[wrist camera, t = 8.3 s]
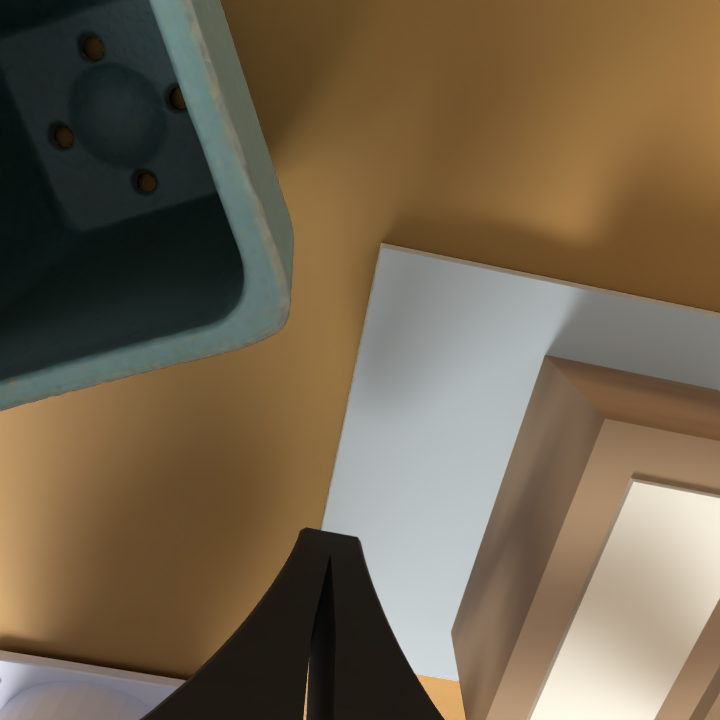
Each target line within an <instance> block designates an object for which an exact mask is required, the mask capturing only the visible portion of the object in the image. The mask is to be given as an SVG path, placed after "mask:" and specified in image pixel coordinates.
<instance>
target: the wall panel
mask: <svg viewBox="0 0 720 720" xmlns="http://www.w3.org/2000/svg"><path fill="white" fill-rule="evenodd" d="M545 355H549V356H554V357H559V358H564V359H569V360H574V361H578V362H583V363H588V364H593V365H598V366H603V367H608V368H613V369H618V370H623V371H627V372H632V373H637V374H642V375H647V376H652V377H657V378H662V379H667V380H672V381H677V382H681V383H686V384H691V385H696V386H701V387H706V388H711V389H716V390H719V391H720V313H719V312H714V311H709V310H704V309H699V308H694V307H690V306H685V305H680V304H675V303H670V302H666V301H661V300H656V299H651V298H646V297H641V296H637V295H632V294H627V293H622V292H617V291H612V290H608V289H603V288H598V287H593V286H588V285H583V284H579V283H574V282H569V281H564V280H559V279H554V278H550V277H545V276H540V275H535V274H530V273H525V272H521V271H516V270H511V269H506V268H501V267H497V266H492V265H487V264H482V263H477V262H472V261H468V260H463V259H458V258H453V257H448V256H443V255H439V254H434V253H429V252H424V251H419V250H414V249H410V248H405V247H400V246H395V245H390V244H385V243H381V244H380V249H379V253H378V258H377V263H376V268H375V272H374V277H373V282H372V286H371V291H370V296H369V301H368V305H367V310H366V315H365V320H364V324H363V329H362V334H361V339H360V343H359V348H358V353H357V357H356V362H355V367H354V372H353V376H352V381H351V386H350V391H349V395H348V400H347V405H346V410H345V414H344V419H343V424H342V428H341V433H340V438H339V443H338V447H337V452H336V457H335V462H334V466H333V471H332V476H331V481H330V485H329V490H328V495H327V500H326V504H325V509H324V514H323V518H322V523H321V528H320V530H322V531H328V532H333V533H339V534H344V535H350V536H356V537H358V538H359V540H360V541H361V545H362V549H363V553H364V557H365V561H366V564H367V567H368V571H369V574H370V577H371V580H372V582H373V585H374V588H375V591H376V593H377V596H378V598H379V601H380V603H381V606H382V608H383V611H384V613H385V615H386V618H387V620H388V622H389V624H390V627H391V629H392V631H393V633H394V635H395V637H396V639H397V641H398V643H399V645H400V647H401V649H402V651H403V653H404V655H405V657H406V659H407V661H408V662H409V664H410V666H411V668H412V669H413V671H414V673H415V674H419V675H425V676H431V677H437V678H443V679H449V680H455V681H459V677H458V671H457V665H456V660H455V654H454V648H453V643H452V637H451V630H452V627H453V624H454V621H455V618H456V615H457V612H458V609H459V606H460V603H461V600H462V597H463V594H464V591H465V588H466V585H467V582H468V580H469V577H470V574H471V571H472V568H473V565H474V562H475V559H476V556H477V553H478V550H479V547H480V544H481V541H482V538H483V535H484V532H485V529H486V527H487V524H488V521H489V518H490V515H491V512H492V509H493V506H494V503H495V500H496V497H497V494H498V491H499V488H500V485H501V482H502V479H503V476H504V473H505V471H506V468H507V465H508V462H509V459H510V456H511V453H512V450H513V447H514V444H515V441H516V438H517V435H518V432H519V429H520V426H521V423H522V420H523V418H524V415H525V412H526V409H527V406H528V403H529V400H530V397H531V394H532V391H533V388H534V385H535V382H536V379H537V376H538V373H539V370H540V367H541V365H542V362H543V359H544V356H545ZM309 654H310V653H309ZM689 720H720V666H719V668H718V670H717V671H716V673H715V675H714V677H713V678H712V680H711V682H710V684H709V685H708V687H707V689H706V691H705V692H704V694H703V696H702V698H701V699H700V701H699V703H698V705H697V706H696V708H695V710H694V712H693V713H692V715H691V717H690V719H689Z"/></svg>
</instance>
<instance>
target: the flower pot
mask: <svg viewBox="0 0 720 720" xmlns="http://www.w3.org/2000/svg"><path fill="white" fill-rule="evenodd" d="M89 36H95V37H97V38H98V39H100V41H101V42H102V44H103V47H104V52H103V55H102V57H101V58H100V59H98V60H96V61H92V60H90V59H89V58H88V57H87V56H86V55H85V54H84V52H83V43H84V40H85V39H86V38H87V37H89ZM177 87H180V89H181V92H182V94H183V97H184V100H185V103H186V106H187V107H186V108H185V109H183V110H178V109H175V108H174V107H173V106H172V105H171V103H170V99H169V95H170V92H171V91H172V89H173V88H177ZM58 126H65V127H68V128H69V129H70V130H71V132H72V134H73V142H72V144H71V146H69V147H67V148H64V147H61V146H59V145H58V144H57V143H56V141H55V139H54V132H55V130H56V128H57V127H58ZM144 172H145V173H150V174H151V175H152V176H153V177H154V178H155V181H156V187H155V188H154V189H153V190H152V191H151V192H144V191H142V190H141V189H140V188H139V187H138V185H137V178H138V176H139V175H140V174H141V173H144ZM293 247H294V237H293V228H292V224H291V220H290V216H289V212H288V209H287V206H286V203H285V200H284V197H283V194H282V191H281V188H280V185H279V182H278V179H277V176H276V173H275V170H274V167H273V163H272V160H271V157H270V154H269V151H268V148H267V145H266V142H265V139H264V136H263V133H262V130H261V127H260V123H259V120H258V117H257V114H256V111H255V108H254V105H253V102H252V99H251V95H250V92H249V89H248V86H247V83H246V80H245V77H244V74H243V70H242V67H241V64H240V61H239V58H238V55H237V52H236V48H235V45H234V42H233V39H232V36H231V33H230V29H229V26H228V23H227V20H226V17H225V14H224V10H223V7H222V4H221V1H220V0H0V411H2V410H6V409H10V408H13V407H16V406H20V405H23V404H26V403H30V402H35V401H38V400H42V399H45V398H48V397H51V396H58V395H61V394H64V393H67V392H70V391H75V390H80V389H83V388H87V387H90V386H95V385H98V384H101V383H104V382H110V381H114V380H118V379H121V378H125V377H128V376H131V375H135V374H140V373H145V372H148V371H151V370H154V369H162V368H165V367H168V366H171V365H175V364H178V363H183V362H190V361H195V360H199V359H203V358H207V357H210V356H214V355H218V354H222V353H226V352H230V351H234V350H239V349H242V348H244V347H247V346H249V345H252V344H254V343H257V342H259V341H262V340H264V339H266V338H268V337H270V336H272V335H274V334H275V333H277V332H278V331H279V330H281V329H282V328H283V327H284V325H285V323H286V321H287V319H288V316H289V311H290V302H291V282H292V269H293Z"/></svg>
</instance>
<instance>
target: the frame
mask: <svg viewBox="0 0 720 720" xmlns="http://www.w3.org/2000/svg"><path fill="white" fill-rule="evenodd" d="M451 637H452V643H453V648H454V654H455V660H456V665H457V671H458V677H459V683H460V688H461V694H462V700H463V705H464V711H465V717H466V720H689V719H690V717H691V715H692V713H693V712H694V710H695V708H696V706H697V705H698V703H699V701H700V699H701V698H702V696H703V694H704V692H705V691H706V689H707V687H708V685H709V684H710V682H711V680H712V678H713V677H714V675H715V673H716V671H717V670H718V668H719V666H720V391H719V390H716V389H711V388H706V387H701V386H696V385H691V384H686V383H681V382H677V381H672V380H667V379H662V378H657V377H652V376H647V375H642V374H637V373H632V372H627V371H623V370H618V369H613V368H608V367H603V366H598V365H593V364H588V363H583V362H578V361H574V360H569V359H564V358H559V357H554V356H549V355H545V356H544V359H543V362H542V365H541V367H540V370H539V373H538V376H537V379H536V382H535V385H534V388H533V391H532V394H531V397H530V400H529V403H528V406H527V409H526V412H525V415H524V418H523V420H522V423H521V426H520V429H519V432H518V435H517V438H516V441H515V444H514V447H513V450H512V453H511V456H510V459H509V462H508V465H507V468H506V471H505V473H504V476H503V479H502V482H501V485H500V488H499V491H498V494H497V497H496V500H495V503H494V506H493V509H492V512H491V515H490V518H489V521H488V524H487V527H486V529H485V532H484V535H483V538H482V541H481V544H480V547H479V550H478V553H477V556H476V559H475V562H474V565H473V568H472V571H471V574H470V577H469V580H468V582H467V585H466V588H465V591H464V594H463V597H462V600H461V603H460V606H459V609H458V612H457V615H456V618H455V621H454V624H453V627H452V630H451Z"/></svg>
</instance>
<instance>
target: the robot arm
mask: <svg viewBox="0 0 720 720" xmlns="http://www.w3.org/2000/svg"><path fill="white" fill-rule="evenodd" d="M309 653H310V654H309ZM308 663H309V674H308V695H307V717H306V720H445V719H444V718H443V717H442V715H441V714H440V712H439V711H438V710H437V708H436V707H435V705H434V704H433V702H432V701H431V699H430V698H429V696H428V694H427V693H426V691H425V690H424V688H423V686H422V685H421V683H420V682H419V680H418V678H417V676H416V675H415V673H414V671H413V669H412V668H411V666H410V664H409V662H408V661H407V659H406V657H405V655H404V653H403V651H402V649H401V647H400V645H399V643H398V641H397V639H396V637H395V635H394V633H393V631H392V629H391V627H390V624H389V622H388V620H387V618H386V615H385V613H384V611H383V608H382V606H381V603H380V601H379V598H378V596H377V593H376V591H375V588H374V585H373V582H372V580H371V577H370V574H369V571H368V567H367V564H366V561H365V557H364V553H363V549H362V545H361V541H360V540H359V538H358V537H356V536H350V535H344V534H339V533H333V532H328V531H322V530H317V529H311V528H304V529H302V530H301V531H300V533H299V536H298V539H297V542H296V544H295V546H294V548H293V550H292V552H291V554H290V556H289V558H288V559H287V561H286V563H285V565H284V566H283V568H282V570H281V571H280V573H279V574H278V576H277V577H276V579H275V580H274V582H273V584H272V585H271V587H270V588H269V589H268V591H267V592H266V594H265V595H264V596H263V598H262V599H261V600H260V601H259V603H258V604H257V605H256V607H255V608H254V609H253V611H252V612H251V613H250V615H249V616H248V617H247V618H246V620H245V621H244V622H243V623H242V624H241V626H240V627H239V628H238V629H237V630H236V631H235V632H234V634H233V635H232V636H231V637H230V638H229V639H228V640H227V641H226V642H225V643H224V645H223V646H222V647H221V648H220V649H219V650H218V651H217V652H216V653H215V654H214V655H213V656H212V657H211V658H210V659H209V660H208V661H207V662H206V663H205V664H204V665H203V666H202V667H201V668H200V669H199V670H198V671H197V672H195V673H194V674H193V675H192V676H191V677H190V678H189V679H188V680H181V679H174V678H168V677H162V676H156V675H150V674H144V673H138V672H131V671H125V670H119V669H113V668H107V667H101V666H94V665H88V664H82V663H76V662H70V661H64V660H57V659H51V658H45V657H39V656H33V655H27V654H21V653H14V652H8V651H2V650H0V720H303V716H304V704H305V694H306V683H307V673H308Z"/></svg>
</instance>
